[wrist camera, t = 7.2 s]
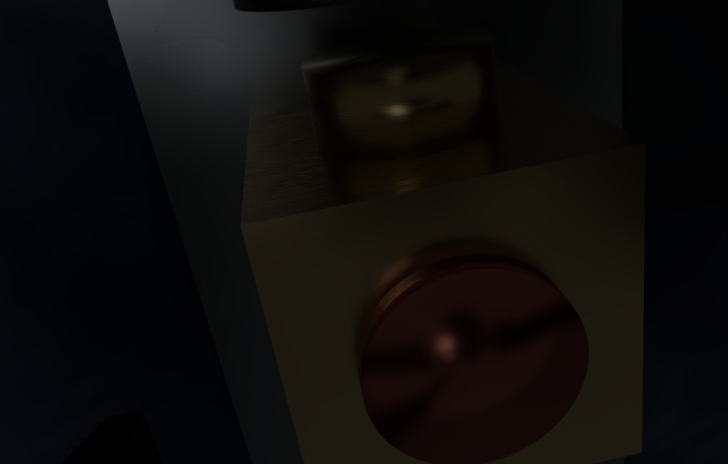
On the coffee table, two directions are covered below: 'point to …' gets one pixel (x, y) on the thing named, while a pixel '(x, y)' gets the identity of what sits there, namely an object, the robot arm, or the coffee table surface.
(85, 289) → the coffee table surface
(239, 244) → the plate with two spools
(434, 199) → the brass valve
